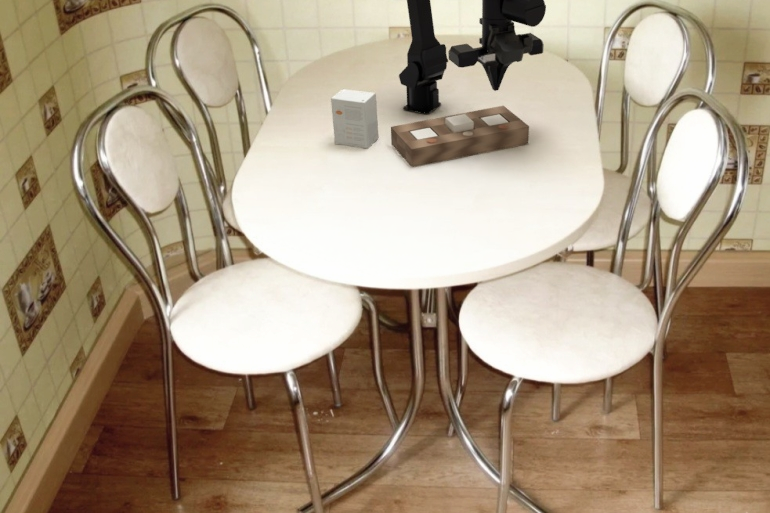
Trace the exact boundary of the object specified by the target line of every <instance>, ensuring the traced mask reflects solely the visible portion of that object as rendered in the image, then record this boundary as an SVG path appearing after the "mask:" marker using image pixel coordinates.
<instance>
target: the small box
mask: <svg viewBox="0 0 770 513" xmlns="http://www.w3.org/2000/svg"><path fill="white" fill-rule="evenodd" d="M330 102H331V104H330V105H331V114H332V124H333V125H332V126H333V135H334V138H333V139H334V144H336V145H341V146H348V147H353V148H354V147H357V148H362V149H369V148H370V147H372V145H374V143H375V142H376V141H377V140H379V137H380V136H379V124H378V123H379V122H378V108H377V94H376V92H372V91H371V92H370V91H361V90H354V89H346V88H345V89H344V88H343V89H341V90H340V91H339V92H337V93H335V95H334V96H332V97H331V98H330Z"/></svg>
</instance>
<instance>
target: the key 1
mask: <svg viewBox="0 0 770 513" xmlns="http://www.w3.org/2000/svg"><path fill="white" fill-rule="evenodd" d="M410 134H411V135H412V136H413V137H414V138H415V139H416V140H421V139H426V138H431V137H436V136H438V135H437V134H436V133H434V132H433V131H432V130H431V129H430V128H425V129H420V130H415V131H410Z"/></svg>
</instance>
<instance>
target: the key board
mask: <svg viewBox="0 0 770 513" xmlns="http://www.w3.org/2000/svg"><path fill="white" fill-rule="evenodd" d="M463 114H465V115H466V116H468V117H469V118H470V119H471V120H472V121H473V122H474V129H472V130H467V131H462V132H457V133H452V132H451V131H450V130H449V129H448V128H447V127H446V121H445V118H447V117H452V116H457V115H463ZM498 114H500V115H501V116H502V117H503V118H504V119H506V120H507V121H508V123H503V124H498V125H493V126H488V125H487V124H486V123H484V122H483V121H482V120H481V119H480V118H483V117H488V116H493V115H498ZM425 128H430V129H431V130H432V131H433V132H434V133H436V134H437V135H438V136H436V137H431V138H426V139H421V140H416V139H415V138H414V137H413V136H412V135H411V134H410V131H415V130H420V129H425ZM529 134H530V125H528V124H527V123H526V122H524V121H523V120H522V119H521V118H520V117H518V116H517V115H516V114H515V113H513V112H512V111H511V110H510V109H508V108H507V107H506V106H505V105H499V106H493V107H488V108H483V109H479V110H473V111H468V112H462V113H458V114H456V113H455V114H451V115H447V116H446V115H445V116H441V117H435V118H431V119H430V118H429V119H424V120H419V121H414V122H410V123H404V124H399V125H392V126H390V139H391V143H390V144H391V146H392V147H393V148H394V149H395V150H396V151H397V152H398V153H399V155H401V157H402V158H403V159H404V160H405V161H406V163H408V164H409V165H410V167H411V168H416V167H421V166H425V165H431V164H435V163H441V162H445V161H450V160H455V159H459V158H460V159H461V158H464V157H470V156H475V155H479V154H485V153H490V152H495V151H500V150H505V149H509V148H516V147H519V146H525V145H529V139H530V136H529Z"/></svg>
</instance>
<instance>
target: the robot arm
mask: <svg viewBox="0 0 770 513" xmlns="http://www.w3.org/2000/svg"><path fill="white" fill-rule="evenodd" d="M406 2H407V3H406V4H407V12H408V17H409V26H410V34H411V41H410V42H411V43H410V45H409V48H408V50H407V54H406V57H407V59H406V60H407V61H406V62H407V65H406V67H405V68H404V69H403V70H402V71H401V72H400V73H399V75H398V78H399V81H400V82H399V83H400V84H401V85H402V86H403V87H404V86H405V87H406V88H405V89H406V90H405V91H406V105H404V106H403V107H402V109H403V110H405V111H409V112H412V113H418V114H422V115H423V114H424V115H428V114H430V113H432V112H433V111H435V109H437V108H439V107H441V105H442V102H440V101H439V100H440V98H439V97H440V96H439V94H440V93H439V92H440V91H439V88H438V81H441V80H443V77H444V75H445V74H444V73H445V72H446V70H447V66H448V65H447V64H448V63H449V61H450V62H452V63H453V64H454V65H455V66H457V67H458V68H469V67H473V66H475V65H476V64H477V63H479V64H481V66H482V68H483V70H484V72H485V74H486V76H487V78H488V81H489V84H490V86H491V89H492V90H493V91H495V92H497V91H499V90H500V86H501V84H502V82H503V79H504V77H505V74H506V72H507V70H508V68H509V66H511V65H512V64H513V63H515V62H517V63H519V62H520V63H521V62H522V61H523V59H524V58H523V57H524V55H525V54H528V55H530V56H535V55H541V54H543V53H544V42H543V40H542V39H541V38H539V37H538V36H536V35H534V34H533V33H532V32H528V33H522V34H518V33H517V34H516V30H515V28H516V27H515V23H518V24H521V25H525V26H528V27H531V28H533V27H537V26H539V25H540V24H541V22H542V21H543V20H544V18H545V14H546V11H547V9H546V8H547V5H546V1H545V0H482V1H481V2H482V3H481V5H482V8H481V13H482V14H481V16H482V17H480V18H479V24H480V25H481V37H479V40H478V42H479V44H481V46H479V47H472V46H471V45H469V43H462V44H458V45H452V46H451V47H450V48H449V49H448V56H447V47H446V45H445V43H443V44H442V43H440V41H439V40H438V39H437V38H436V35H435V26H434V19H433V12H432V11H433V10H432V4H431V0H406Z"/></svg>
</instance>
